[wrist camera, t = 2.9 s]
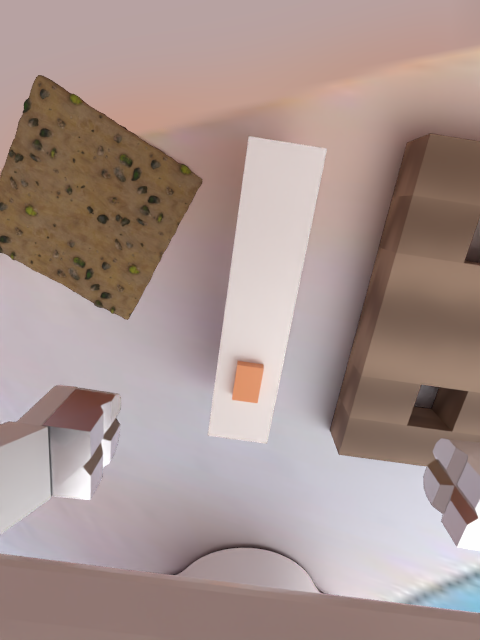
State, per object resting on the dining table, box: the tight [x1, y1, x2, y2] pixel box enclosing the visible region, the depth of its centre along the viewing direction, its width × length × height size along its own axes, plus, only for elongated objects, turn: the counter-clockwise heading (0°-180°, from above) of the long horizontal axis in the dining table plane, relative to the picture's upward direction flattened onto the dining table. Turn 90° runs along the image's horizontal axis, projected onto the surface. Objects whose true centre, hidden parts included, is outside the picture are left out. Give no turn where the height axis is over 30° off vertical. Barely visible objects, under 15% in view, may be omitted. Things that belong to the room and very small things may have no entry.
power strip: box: [208, 136, 327, 444], centre depth 23 cm, size 18×4×6 cm, turn 172°
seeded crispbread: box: [0, 75, 202, 320], centre depth 24 cm, size 12×12×1 cm
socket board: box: [330, 133, 480, 466], centre depth 24 cm, size 22×12×3 cm, turn 172°
